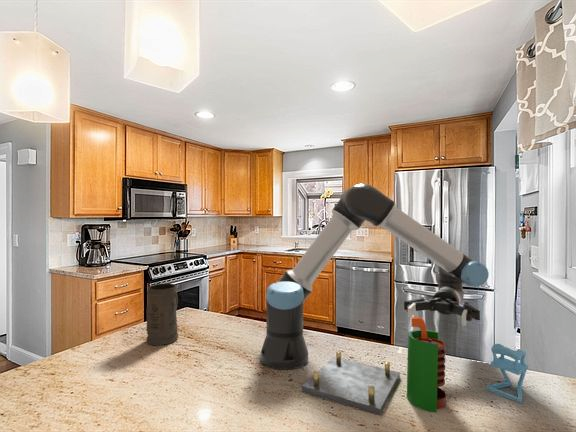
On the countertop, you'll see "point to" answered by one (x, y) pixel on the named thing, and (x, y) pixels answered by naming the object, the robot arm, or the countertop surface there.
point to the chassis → (353, 384)
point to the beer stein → (162, 314)
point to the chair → (508, 369)
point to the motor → (425, 368)
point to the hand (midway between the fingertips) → (435, 316)
